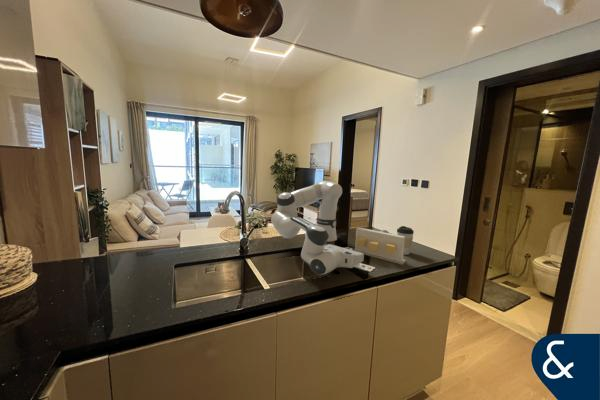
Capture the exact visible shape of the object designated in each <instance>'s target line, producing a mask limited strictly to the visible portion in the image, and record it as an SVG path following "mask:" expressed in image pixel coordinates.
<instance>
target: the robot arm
mask: <svg viewBox="0 0 600 400" xmlns="http://www.w3.org/2000/svg"><path fill="white" fill-rule="evenodd" d="M342 194H343V188H342V186H341V185H340V184H339V183H337V182H334V181H330V180H320V181H319V182H316V183H314V184H312V185H310V186H306V187H303V188H299V189H297V190H293V191H291V192H287V191H285V192H281V193H280V194H278V196H277V197H276V204H277V211H276V212H273V214H272V215H271V219H270V222H271V224H272V226H273V228H274V229H275V231H276V232H277V233H278V234H279V235H280V236H281V237H282V238H284V239H292V238H294V237H296V236H297V235H298V234H299V232H300V230H302V231H304V232H305V235H304V237H305V238H304V242H303V245H302V249H301V252H300V257H301V260H302V261H303V262H304V264H306V266H308V267H309V268H310V270H311V271H312V272H313V273H314V274H316V275H318V276H322V275H326V274H329V273H331V272H333V271H334V270H335V269H337V268H347V269H353V268H355V267H354V265H358V264H360V263H362V262H364V260H365V255H364V254H363V253H360V252H357V251H353V250H354V248H352V247H349V246H348V247H341V246H338V245H335V244H327V243H328V242H335V241H337V240H338V236H337V230H336V226H337V218H336V215H337V214H336V213H337V206H338V202H339V199H340V197H341V196H342ZM320 199H322V201H321V203H320V205H319V207H318V210H319V211H318V217H317V218H315V221H316V222H315V223H313V222H311V221H309V220H307V219H305V218H303V217H300V216H298V210H297V209H298V208H302V207H305V206H309V205H311V204H314V203H315V204H316V202H317V201H319V200H320Z"/></svg>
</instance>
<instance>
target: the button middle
mask: <svg viewBox="0 0 600 400" xmlns="http://www.w3.org/2000/svg"><path fill="white" fill-rule="evenodd" d="M379 245H380V244H379V243H378V242H373V241H372V242H370V243H369V250H371V251H375V252H377V251H378V250H379Z"/></svg>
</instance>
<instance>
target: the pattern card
mask: <svg viewBox="0 0 600 400" xmlns="http://www.w3.org/2000/svg"><path fill="white" fill-rule="evenodd" d="M353 268H356V269H357V270H358V269H359V270H361V271H365V272H368V273H371V272H372V271H374V270H375V269H376V267H375V266H372V265H369V264H365V263H362V262H361V263H360V264H358V265H354V267H353ZM373 269H374V270H373Z"/></svg>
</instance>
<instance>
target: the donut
mask: <svg viewBox="0 0 600 400" xmlns="http://www.w3.org/2000/svg"><path fill="white" fill-rule="evenodd" d="M379 232H384V233H390V232H389V231H388V230H386V229H381V230H379ZM378 243H379V245H380V242H378Z"/></svg>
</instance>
